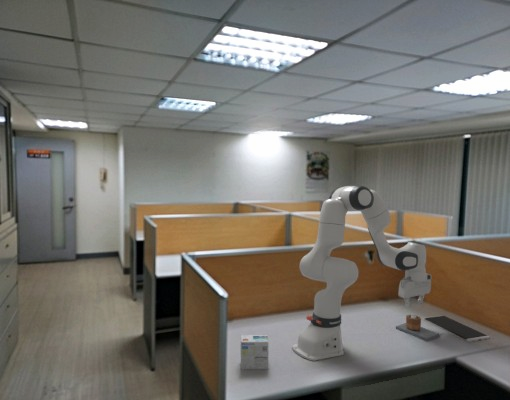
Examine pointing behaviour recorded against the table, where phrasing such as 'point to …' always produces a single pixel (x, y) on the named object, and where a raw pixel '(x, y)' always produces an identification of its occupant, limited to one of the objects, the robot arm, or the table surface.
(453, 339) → the table surface
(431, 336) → the post stand
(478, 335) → the smartphone
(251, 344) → the light bulb box
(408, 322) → the ring
